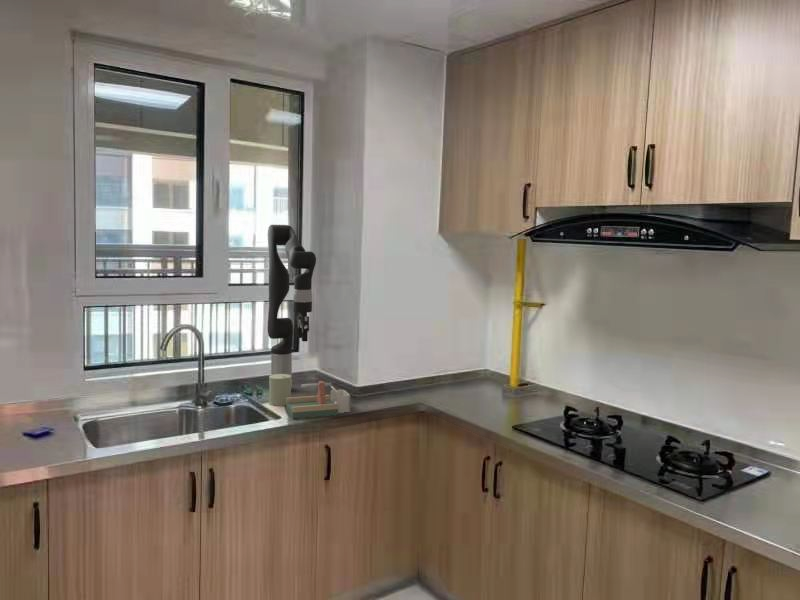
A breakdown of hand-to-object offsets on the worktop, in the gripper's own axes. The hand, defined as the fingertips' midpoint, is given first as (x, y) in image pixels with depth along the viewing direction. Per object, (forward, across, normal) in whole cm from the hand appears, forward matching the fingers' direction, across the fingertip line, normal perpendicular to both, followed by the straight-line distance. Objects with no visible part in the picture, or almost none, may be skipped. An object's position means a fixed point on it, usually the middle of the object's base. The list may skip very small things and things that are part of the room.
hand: (302, 339), depth 252 cm
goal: (+28, +9, +14) cm, 32 cm away
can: (+28, -8, -8) cm, 30 cm away
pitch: (+28, +9, +2) cm, 30 cm away
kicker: (+25, +9, +4) cm, 27 cm away
